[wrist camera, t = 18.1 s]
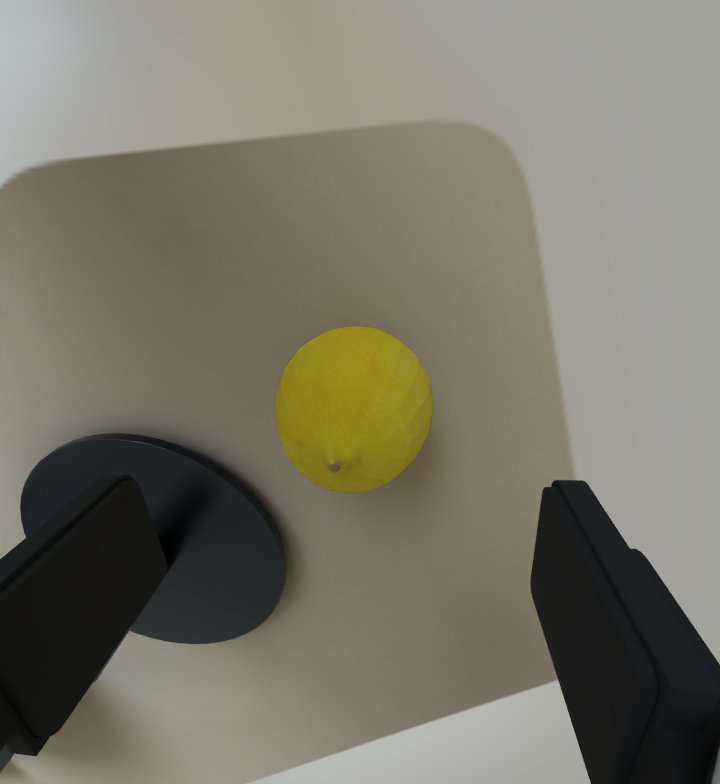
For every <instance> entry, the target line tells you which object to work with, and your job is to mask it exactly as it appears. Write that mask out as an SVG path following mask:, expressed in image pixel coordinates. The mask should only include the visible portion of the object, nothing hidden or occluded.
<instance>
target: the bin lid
mask: <svg viewBox="0 0 720 784" xmlns="http://www.w3.org/2000/svg"><path fill="white" fill-rule="evenodd" d="M106 474H126V475H130V476H131V477H133V479H134V480H135V481H136V482H138V483H139V485H140V487H141V490H142V493H143V496H144V499H145V502H146V505H147V507H148V510H149V513H150V516H151V519H152V522H153V525H154V527H155V530H156V533H157V536H158V539H159V542H160V544H161V547H162V550H163V553H164V556H165V559H166V562H167V571H166V575H165V577H164V579H163V580H162V582H161V583H160V585H159V586H158V588H157V589H156V591H155V592H154V594H153V595H152V596H151V598H150V599H149V601H148V602H147V604H146V605H145V607H144V608H143V610H142V611H141V612H140V614H139V615H138V617H137V618H136V620H135V621H134V623H133V624H132V626H131V627H130V629H129V630H128V631H127V633H126V634H125V636H124V637H123V639H122V640H121V642H120V643H119V645H118V646H117V647H116V649H115V650H114V652H113V653H112V655H111V656H110V658H109V659H108V661H107V662H106V663H105V665H104V666H103V668H102V669H101V671H100V672H99V674H98V675H97V677H96V678H95V680H94V681H93V682H92V683H94V682H95V681H96V680H97V679H98V677H99V676H100V674H101V673H102V671H103V670H104V668H105V667H106V665H107V664H108V662H109V661H110V659H111V658H112V656H113V655H114V653H115V652H116V650H117V649H118V647H119V646H120V644H121V643H122V641H123V640H124V638H125V637H126V635H127V634H128V632H129V631H132V632H134V633H137V634H140V635H144V636H147V637H150V638H154V639H159V640H163V641H169V642H175V643H186V644H208V643H216V642H222V641H226V640H230V639H234V638H237V637H239V636H242V635H244V634H246V633H248V632H250V631H252V630H253V629H255V628H257V627H258V626H259V625H260V624H262V623H263V622H264V621H265V620H266V619H267V618H268V617H269V616H270V615H271V613H272V612H273V611H274V609H275V607H276V606H277V604H278V602H279V600H280V597H281V594H282V591H283V588H284V585H285V580H286V573H287V565H286V555H285V550H284V546H283V542H282V540H281V537H280V535H279V532H278V530H277V528H276V526H275V524H274V522H273V521H272V519H271V517H270V515H269V514H268V513H267V511H266V510H265V509H264V507H263V506H262V504H261V503H260V502H259V501H258V500H257V499H256V497H255V496H254V495H253V494H252V493H251V492H250V491H249V490H248V489H247V488H246V487H245V486H244V485H243V484H241V483H240V482H239V481H238V480H237V479H236V478H235V477H233V476H232V475H231V474H229V473H228V472H227V471H225V470H224V469H222V468H221V467H219V466H218V465H217V464H215V463H213V462H211V461H210V460H208V459H206V458H204V457H203V456H201V455H199V454H197V453H195V452H192V451H190V450H188V449H186V448H183V447H181V446H178V445H175V444H172V443H169V442H166V441H163V440H160V439H155V438H150V437H146V436H141V435H131V434H100V435H94V436H87V437H84V438H80V439H77V440H74V441H71V442H69V443H67V444H65V445H63V446H61V447H59V448H57V449H56V450H54V451H53V452H52V453H50V454H49V455H48V456H46V457H45V458H44V459H42V460H41V461H40V462H39V463H38V464H37V465H36V466H35V468H34V469H33V470H32V471H31V473H30V475H29V476H28V478H27V480H26V482H25V484H24V488H23V491H22V495H21V505H20V510H21V521H22V525H23V529H24V533H25V535H26V538H27V537H28V536H29V535H30V534H31V533H33V532H34V531H35V530H36V529H37V528H39V527H40V526H41V525H42V524H43V523H45V522H46V521H47V520H48V519H49V518H51V517H52V516H53V515H54V514H55V513H57V512H58V511H59V510H60V509H61V508H63V507H64V506H65V505H66V504H67V503H69V502H70V501H71V500H72V499H73V498H75V497H76V496H77V495H78V494H79V493H81V492H82V491H83V490H84V489H85V488H87V487H88V486H89V485H90V484H91V483H93V482H94V481H95V480H96V479H97V478H99V477H100V476H102V475H106Z"/></svg>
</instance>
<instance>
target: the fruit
mask: <svg viewBox="0 0 720 784" xmlns="http://www.w3.org/2000/svg"><path fill="white" fill-rule="evenodd" d="M275 407H276V426H277V431H278V435H279V438H280V441H281V443H282V446H283V448H284V451H285V453H286V454H287V456H288V457H289V459H290V460H291V462H292V463H293V464H294V465H295V467H296V468H297V469H298V471H299V472H300V473H301V474H302V475H304V476H305V477H306V478H308V479H309V480H310V481H312V482H313V483H315V484H317V485H319V486H322V487H324V488H327V489H329V490H333V491H339V492H345V493H356V492H366V491H369V490H372V489H375V488H378V487H380V486H382V485H384V484H386V483H388V482H390V481H391V480H393V479H394V478H396V477H397V476H398V475H399V474H400V473H401V472H402V471H404V470H405V469H406V468H407V467H408V466H409V465H410V464H411V463H412V461H413V460H414V459H415V458H416V456H417V454H418V452H419V451H420V449H421V447H422V445H423V443H424V442H425V440H426V438H427V436H428V433H429V431H430V426H431V420H432V414H433V395H432V390H431V384H430V379H429V377H428V375H427V373H426V372H425V370H424V368H423V366H422V365H421V363H420V361H419V359H418V357H417V356H416V354H415V353H414V352H412V351H411V350H410V349H409V348H408V347H407V346H406V345H405V344H404V343H403V342H402V341H400V340H399V339H398V338H397V337H395V336H392V335H390V334H388V333H386V332H384V331H382V330H379V329H377V328H370V327H363V326H349V327H342V328H335V329H332V330H329V331H327V332H325V333H323V334H321V335H319V336H317V337H315V338H314V339H312V340H311V341H310V342H308V343H307V344H305V345H304V346H303V347H301V348H300V349H299V350H298V351H297V353H296V354H295V355H294V357H293V358H292V359H291V361H290V362H289V363H288V365H287V366H286V368H285V370H284V373H283V376H282V379H281V382H280V385H279V388H278V392H277V395H276V406H275Z"/></svg>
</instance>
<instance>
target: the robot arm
mask: <svg viewBox="0 0 720 784" xmlns="http://www.w3.org/2000/svg"><path fill="white" fill-rule="evenodd" d="M166 571H167V562H166V559H165V556H164V553H163V550H162V547H161V544H160V542H159V539H158V536H157V533H156V530H155V527H154V525H153V522H152V519H151V516H150V513H149V510H148V507H147V505H146V502H145V499H144V496H143V493H142V490H141V487H140V485H139V483H138V482H136V481H135V480H134V479H133V477H131V476H130V475H126V474H106V475H102V476H100V477H99V478H97V479H96V480H95V481H94V482H93V483H91V484H90V485H89V486H88V487H87V488H85V489H84V490H83V491H82V492H81V493H79V494H78V495H77V496H76V497H75V498H73V499H72V500H71V501H70V502H69V503H67V504H66V505H65V506H64V507H63V508H61V509H60V510H59V511H58V512H57V513H55V514H54V515H53V516H52V517H51V518H49V519H48V520H47V521H46V522H45V523H43V524H42V525H41V526H40V527H39V528H37V529H36V530H35V531H34V532H33V533H31V534H30V535H29V536H28V537H27V538H25V539H24V540H23V541H22V542H21V543H19V544H18V545H17V546H16V547H15V548H13V549H12V550H11V551H10V552H9V553H7V554H6V555H5V556H4V557H3V558H1V559H0V751H1V750H2V749H3V747H4V746H5V745H6V747H7V748H8V749H9V751H10V752H11V753H15V754H23V755H31V756H37V755H38V753H39V752H40V750H41V749H42V747H43V746H44V745H45V743H46V742H47V740H48V739H49V737H50V736H52V735H54V734H55V733H56V732H58V731H59V730H60V728H61V727H62V726H63V725H64V723H65V722H66V720H67V719H68V717H69V716H70V715H71V713H72V712H73V710H74V709H75V707H76V706H77V704H78V703H79V701H80V700H81V698H82V697H83V696H84V694H85V693H86V691H87V690H88V688H89V687H90V685H91V684H92V682H93V681H94V680H95V678H96V677H97V675H98V674H99V672H100V671H101V669H102V668H103V666H104V665H105V663H106V662H107V661H108V659H109V658H110V656H111V655H112V653H113V652H114V650H115V649H116V647H117V646H118V645H119V643H120V642H121V640H122V639H123V637H124V636H125V634H126V633H127V631H128V630H129V629H130V627H131V626H132V624H133V623H134V621H135V620H136V618H137V617H138V615H139V614H140V612H141V611H142V610H143V608H144V607H145V605H146V604H147V602H148V601H149V599H150V598H151V596H152V595H153V594H154V592H155V591H156V589H157V588H158V586H159V585H160V583H161V582H162V580H163V579H164V577H165V575H166ZM531 593H532V597H533V601H534V604H535V607H536V610H537V613H538V617H539V620H540V623H541V626H542V629H543V633H544V636H545V639H546V642H547V645H548V648H549V652H550V655H551V658H552V661H553V664H554V668H555V671H556V674H557V677H558V680H559V683H560V687H561V690H562V693H563V696H564V699H565V703H566V706H567V709H568V712H569V715H570V718H571V722H572V724H573V728H574V731H575V734H576V737H577V741H578V744H579V747H580V750H581V753H582V756H583V760H584V763H585V766H586V769H587V772H588V776H589V779H590V782H591V784H720V665H719V663H718V662H717V660H716V659H715V657H714V656H713V654H712V653H711V651H710V650H709V648H708V647H707V645H706V644H705V643H704V641H703V640H702V638H701V637H700V635H699V634H698V632H697V631H696V629H695V628H694V626H693V625H692V624H691V622H690V621H689V619H688V618H687V616H686V615H685V614H684V612H683V610H682V609H681V607H680V606H679V605H678V603H677V602H676V600H675V599H674V597H673V596H672V594H671V593H670V592H669V590H668V588H667V587H666V586H665V584H664V583H663V581H662V580H661V578H660V577H659V575H658V574H657V572H656V571H655V569H654V568H653V567H652V565H651V564H650V562H649V561H648V559H647V558H646V557H645V556H644V555H643V553H642V552H640V551H638V550H637V549H630V548H629V547H628V545H627V544H626V542H625V541H624V539H623V538H622V536H621V534H620V533H619V531H618V530H617V528H616V527H615V525H614V524H613V522H612V521H611V519H610V518H609V516H608V515H607V513H606V512H605V510H604V508H603V507H602V506H601V504H600V502H599V501H598V499H597V498H596V496H595V495H594V493H593V492H592V490H591V489H590V487H589V485H588V484H587V483H586V482H585V481H575V480H555V481H553V483H552V486H551V487H545V488H544V489H543V492H542V499H541V506H540V514H539V521H538V528H537V536H536V543H535V550H534V558H533V565H532V572H531Z"/></svg>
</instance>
